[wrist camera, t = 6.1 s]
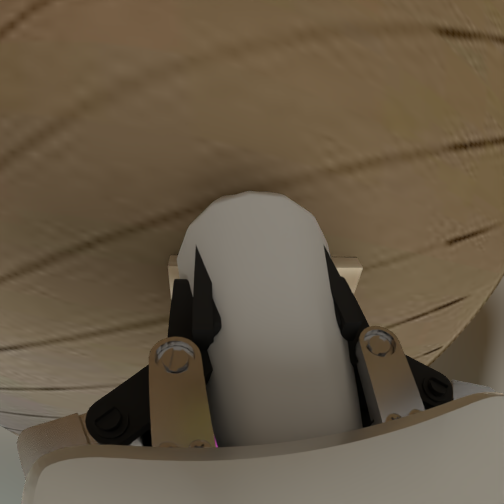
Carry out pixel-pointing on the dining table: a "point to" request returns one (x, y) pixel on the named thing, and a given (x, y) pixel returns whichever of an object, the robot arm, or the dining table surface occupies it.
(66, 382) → the dining table surface
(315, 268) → the salt shaker
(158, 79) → the dining table surface
